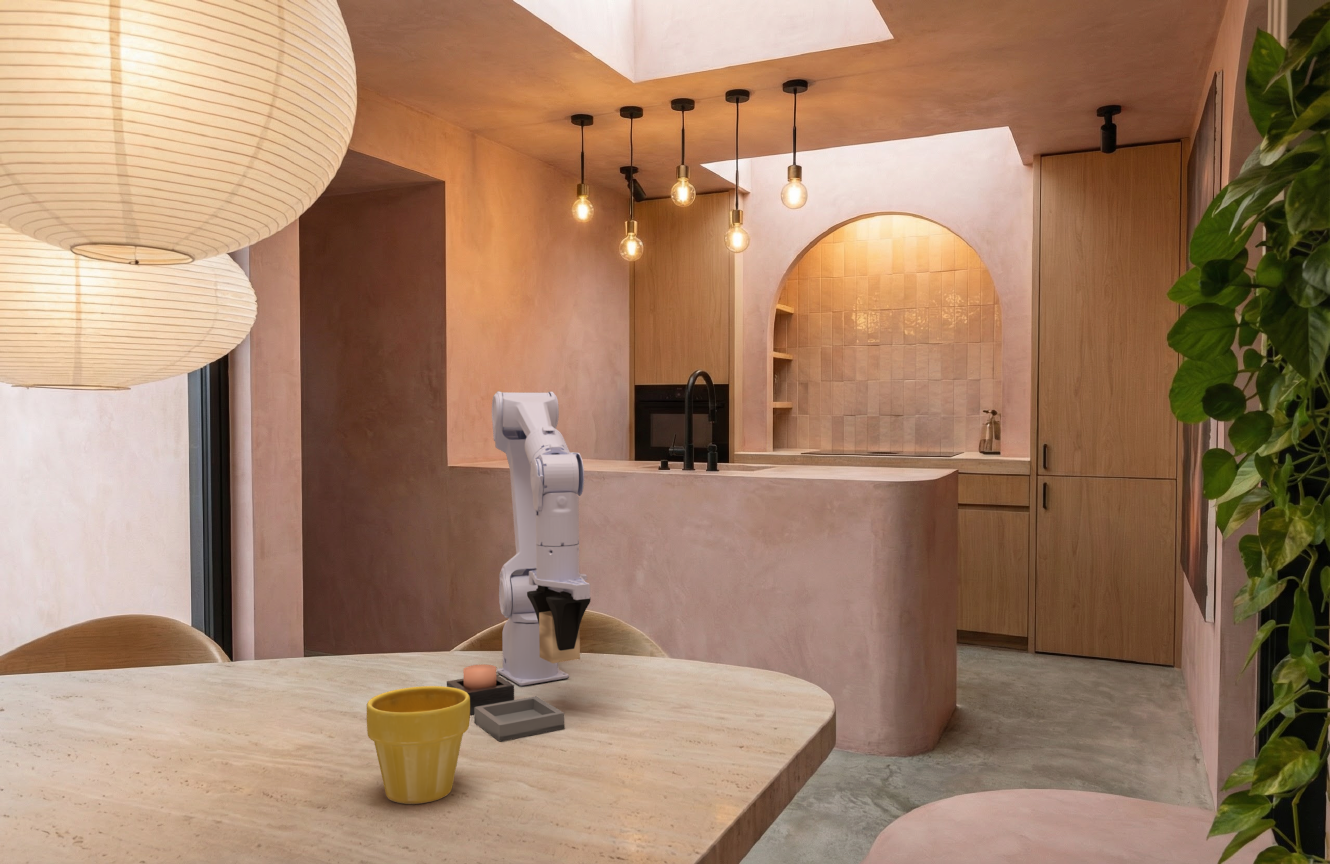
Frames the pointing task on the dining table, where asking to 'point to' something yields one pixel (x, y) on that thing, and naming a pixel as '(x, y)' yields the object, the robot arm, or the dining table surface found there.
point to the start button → (479, 676)
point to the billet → (554, 641)
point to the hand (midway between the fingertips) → (558, 645)
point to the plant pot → (418, 740)
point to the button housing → (486, 693)
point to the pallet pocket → (518, 718)
